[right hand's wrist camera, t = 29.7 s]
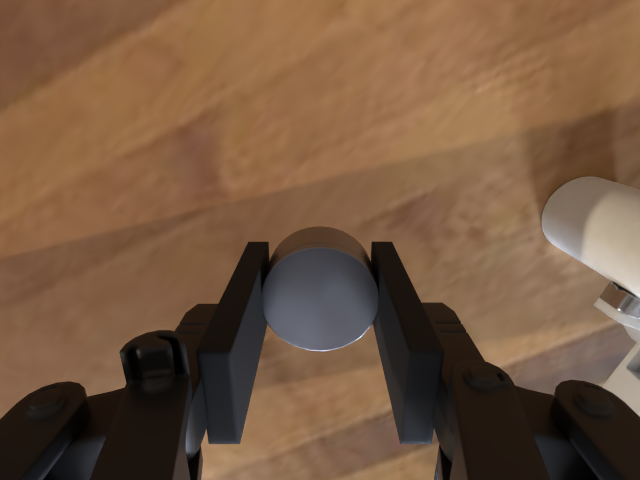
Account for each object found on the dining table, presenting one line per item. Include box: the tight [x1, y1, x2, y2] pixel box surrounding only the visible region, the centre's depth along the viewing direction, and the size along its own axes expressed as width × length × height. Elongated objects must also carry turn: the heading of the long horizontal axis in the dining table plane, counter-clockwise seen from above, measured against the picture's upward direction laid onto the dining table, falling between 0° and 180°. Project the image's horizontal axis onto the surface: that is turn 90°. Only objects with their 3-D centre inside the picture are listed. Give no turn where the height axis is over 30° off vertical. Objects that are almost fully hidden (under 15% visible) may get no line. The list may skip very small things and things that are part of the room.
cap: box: [261, 227, 379, 351], centre depth 14 cm, size 4×4×2 cm
